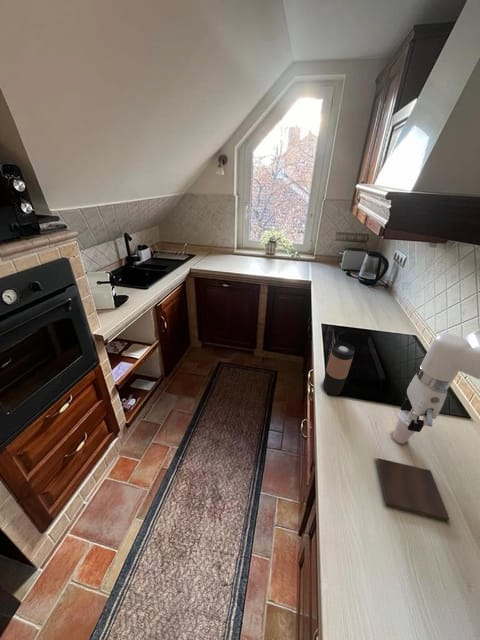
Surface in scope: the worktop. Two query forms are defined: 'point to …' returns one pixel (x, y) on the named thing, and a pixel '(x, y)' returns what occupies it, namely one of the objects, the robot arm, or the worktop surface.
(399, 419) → the smoothie
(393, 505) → the walnut board
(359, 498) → the worktop surface
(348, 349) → the travel mug
